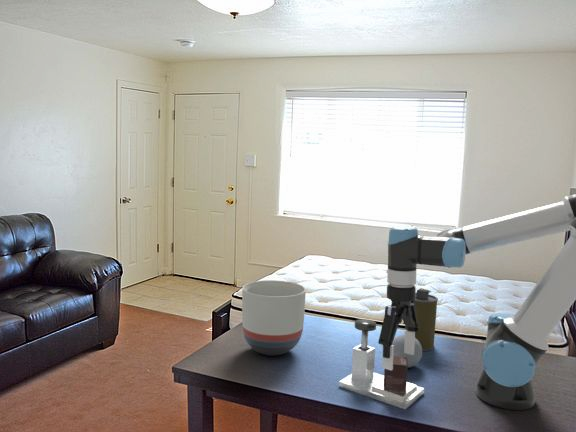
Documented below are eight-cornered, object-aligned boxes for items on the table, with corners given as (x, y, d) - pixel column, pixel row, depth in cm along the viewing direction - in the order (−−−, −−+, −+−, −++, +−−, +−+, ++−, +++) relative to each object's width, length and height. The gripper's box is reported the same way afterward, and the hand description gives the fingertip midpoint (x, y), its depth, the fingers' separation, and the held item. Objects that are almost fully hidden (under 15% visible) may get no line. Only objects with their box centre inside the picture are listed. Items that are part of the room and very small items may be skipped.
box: (406, 392, 136) (408, 365, 135) (383, 389, 137) (384, 363, 136) (405, 382, 142) (407, 357, 141) (383, 379, 143) (385, 354, 142)
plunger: (377, 367, 146) (380, 322, 144) (367, 374, 141) (369, 327, 140) (358, 362, 150) (361, 317, 148) (348, 368, 145) (350, 322, 143)
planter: (307, 343, 175) (309, 282, 173) (297, 367, 155) (300, 299, 153) (249, 338, 179) (251, 278, 176) (233, 360, 159) (234, 293, 156)
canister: (438, 344, 179) (442, 289, 177) (429, 353, 170) (433, 295, 168) (408, 337, 185) (411, 284, 183) (397, 346, 176) (401, 289, 174)
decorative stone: (424, 364, 161) (426, 333, 160) (416, 375, 153) (418, 343, 152) (393, 357, 166) (395, 327, 165) (384, 368, 157) (386, 336, 156)
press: (423, 393, 141) (426, 357, 140) (405, 409, 132) (408, 370, 130) (360, 372, 153) (362, 339, 152) (339, 386, 144) (340, 350, 142)
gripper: (407, 274, 149) (405, 345, 151) (366, 291, 129) (364, 372, 131) (432, 278, 144) (429, 350, 146) (393, 296, 124) (391, 379, 126)
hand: (398, 361), depth 139 cm, fingers open, 13 cm apart
